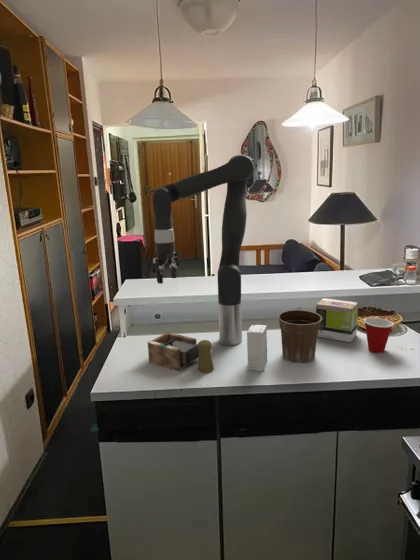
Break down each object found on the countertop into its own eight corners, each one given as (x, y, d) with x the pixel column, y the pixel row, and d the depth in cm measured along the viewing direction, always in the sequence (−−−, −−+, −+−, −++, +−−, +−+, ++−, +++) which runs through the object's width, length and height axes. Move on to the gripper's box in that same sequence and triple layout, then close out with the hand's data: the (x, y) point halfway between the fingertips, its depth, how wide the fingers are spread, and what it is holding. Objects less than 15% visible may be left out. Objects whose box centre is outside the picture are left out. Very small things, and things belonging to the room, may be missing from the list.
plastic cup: (395, 348, 167) (398, 320, 164) (384, 358, 160) (387, 328, 157) (368, 341, 175) (370, 314, 171) (357, 350, 167) (359, 321, 164)
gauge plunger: (199, 356, 162) (198, 338, 160) (183, 367, 154) (182, 348, 152) (178, 351, 167) (177, 333, 165) (161, 361, 159) (160, 342, 157)
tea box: (356, 334, 182) (359, 301, 178) (350, 343, 174) (352, 309, 170) (322, 328, 190) (323, 296, 186) (314, 336, 182) (315, 303, 178)
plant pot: (293, 343, 175) (294, 306, 171) (328, 355, 164) (330, 315, 160) (268, 356, 164) (269, 317, 160) (304, 370, 153) (306, 328, 149)
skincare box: (263, 371, 153) (263, 333, 149) (246, 369, 155) (246, 331, 151) (267, 361, 161) (267, 324, 157) (251, 359, 162) (251, 323, 158)
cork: (212, 373, 153) (211, 345, 150) (195, 372, 154) (194, 344, 151) (215, 365, 159) (214, 338, 156) (199, 365, 160) (198, 337, 157)
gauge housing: (197, 358, 165) (196, 337, 163) (178, 370, 156) (176, 349, 154) (168, 350, 173) (167, 331, 171) (149, 362, 163) (147, 341, 161)
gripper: (168, 236, 173) (171, 275, 177) (144, 242, 162) (148, 283, 166) (183, 237, 169) (185, 277, 173) (160, 244, 158) (163, 286, 162)
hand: (167, 280), depth 170 cm, fingers open, 8 cm apart
